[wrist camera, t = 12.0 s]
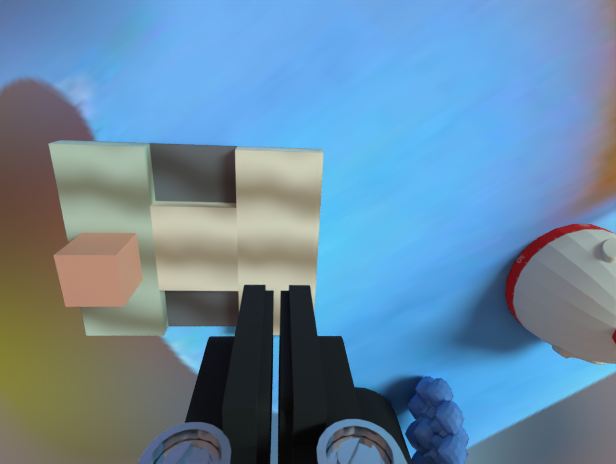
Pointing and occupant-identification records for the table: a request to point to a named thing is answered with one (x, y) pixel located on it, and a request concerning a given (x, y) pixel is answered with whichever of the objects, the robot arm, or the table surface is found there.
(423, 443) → the grapes
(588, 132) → the table surface
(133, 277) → the block
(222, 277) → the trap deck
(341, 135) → the table surface
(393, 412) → the coffee jar
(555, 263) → the kitchen timer
